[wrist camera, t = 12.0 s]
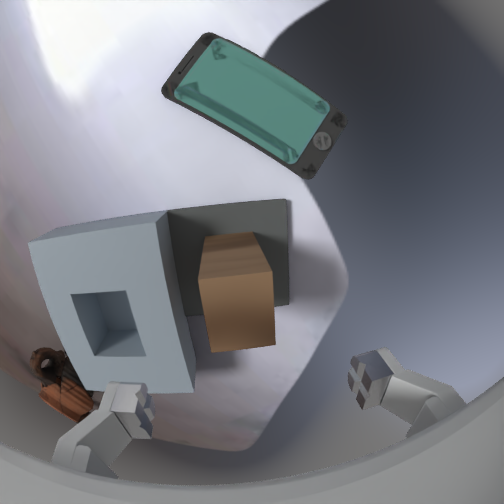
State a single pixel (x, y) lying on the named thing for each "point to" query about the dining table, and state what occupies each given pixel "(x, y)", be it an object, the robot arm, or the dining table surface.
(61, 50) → the dining table surface
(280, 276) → the rubber mat
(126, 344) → the pocket holder
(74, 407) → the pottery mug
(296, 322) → the dining table surface
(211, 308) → the walnut block
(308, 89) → the smartphone
